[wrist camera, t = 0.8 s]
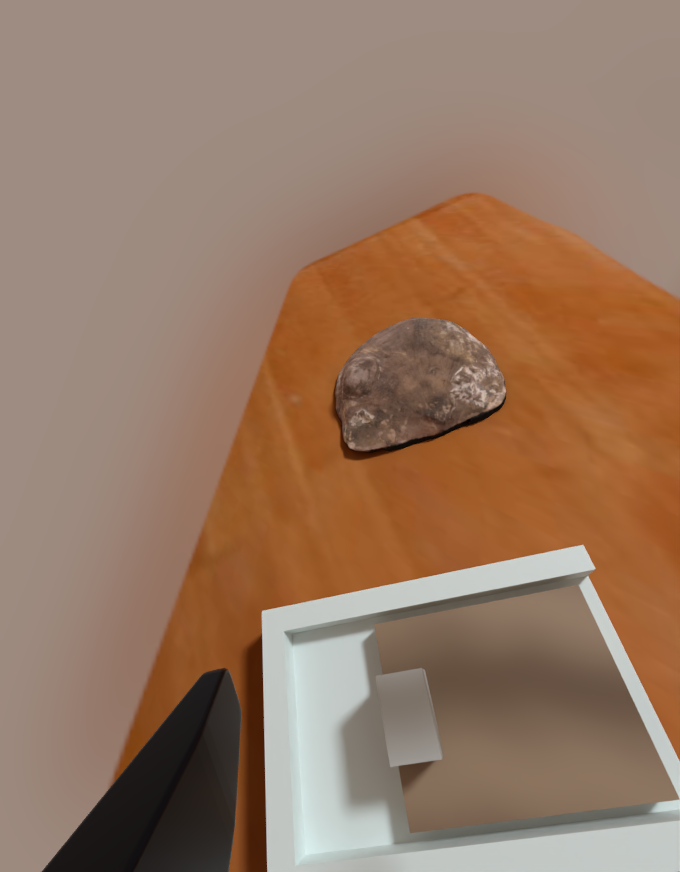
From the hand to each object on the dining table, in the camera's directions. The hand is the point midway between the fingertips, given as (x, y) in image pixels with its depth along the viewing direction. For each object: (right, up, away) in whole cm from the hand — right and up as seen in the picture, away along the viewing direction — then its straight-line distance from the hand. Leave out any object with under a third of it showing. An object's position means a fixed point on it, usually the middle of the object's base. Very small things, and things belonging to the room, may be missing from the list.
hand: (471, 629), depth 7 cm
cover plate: (+5, -8, +11) cm, 15 cm away
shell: (+4, +8, +24) cm, 26 cm away
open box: (+3, -10, +12) cm, 16 cm away
